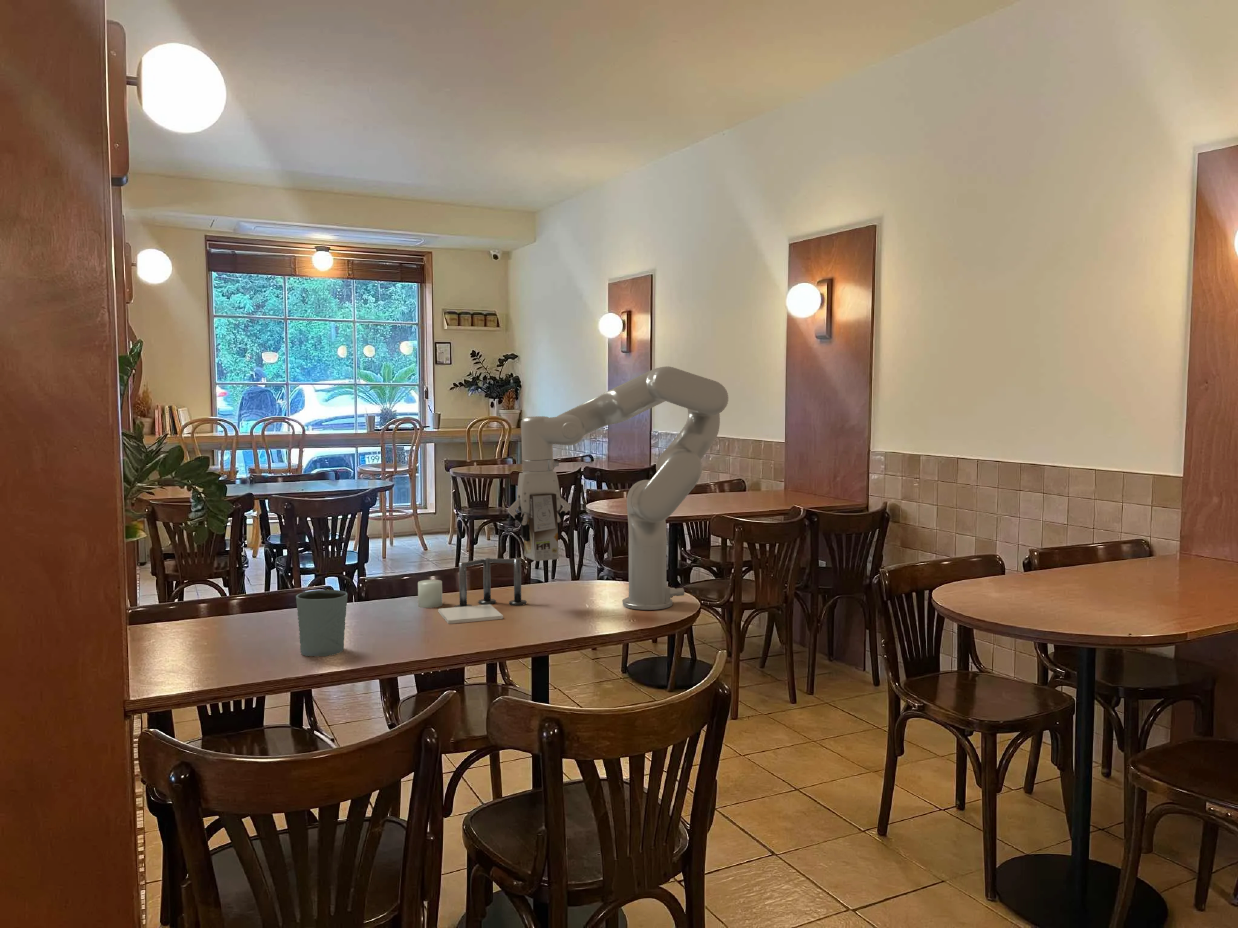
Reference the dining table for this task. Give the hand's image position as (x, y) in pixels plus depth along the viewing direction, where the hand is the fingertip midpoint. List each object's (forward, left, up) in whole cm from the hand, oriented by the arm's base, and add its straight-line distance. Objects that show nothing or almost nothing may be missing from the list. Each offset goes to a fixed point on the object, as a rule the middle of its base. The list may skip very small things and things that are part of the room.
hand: (540, 538), depth 227 cm
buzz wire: (+11, -11, -18) cm, 23 cm away
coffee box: (0, 0, -5) cm, 5 cm away
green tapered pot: (+53, +19, -18) cm, 59 cm away
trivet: (+18, -1, -18) cm, 25 cm away
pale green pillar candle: (+25, -16, -18) cm, 34 cm away
